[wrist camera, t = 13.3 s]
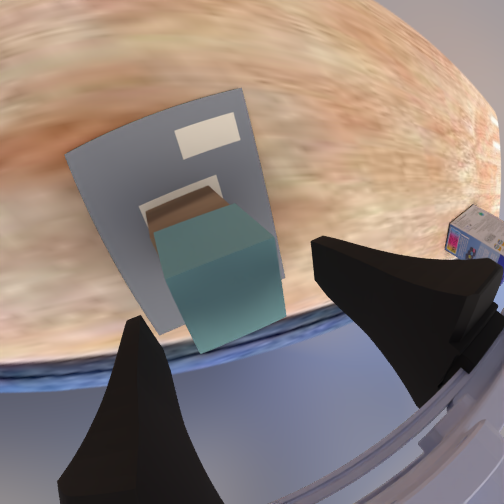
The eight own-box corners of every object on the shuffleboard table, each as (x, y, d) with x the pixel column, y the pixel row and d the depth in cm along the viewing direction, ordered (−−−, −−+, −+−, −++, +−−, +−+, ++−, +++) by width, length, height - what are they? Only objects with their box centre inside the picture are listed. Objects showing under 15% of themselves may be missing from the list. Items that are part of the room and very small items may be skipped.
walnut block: (145, 211, 17) (150, 238, 14) (208, 185, 18) (230, 205, 15) (169, 265, 20) (181, 302, 16) (226, 241, 21) (250, 271, 17)
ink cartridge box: (443, 252, 38) (510, 296, 27) (447, 223, 35) (521, 266, 23) (468, 229, 40) (528, 265, 29) (472, 203, 37) (537, 237, 25)
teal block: (153, 232, 14) (164, 279, 10) (235, 203, 15) (274, 236, 11) (180, 299, 16) (200, 353, 12) (250, 271, 17) (286, 316, 14)
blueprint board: (66, 153, 14) (64, 154, 13) (238, 88, 17) (241, 87, 16) (158, 330, 23) (159, 335, 22) (282, 274, 25) (285, 277, 25)
